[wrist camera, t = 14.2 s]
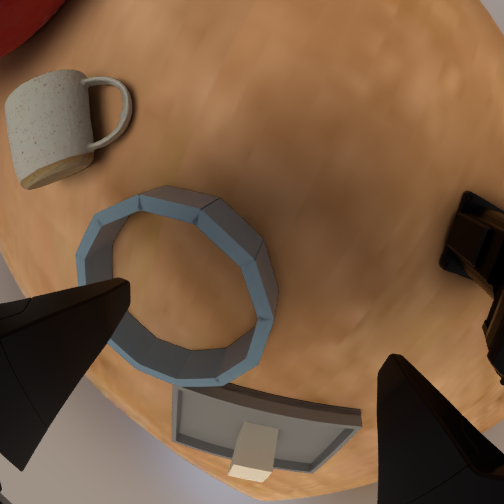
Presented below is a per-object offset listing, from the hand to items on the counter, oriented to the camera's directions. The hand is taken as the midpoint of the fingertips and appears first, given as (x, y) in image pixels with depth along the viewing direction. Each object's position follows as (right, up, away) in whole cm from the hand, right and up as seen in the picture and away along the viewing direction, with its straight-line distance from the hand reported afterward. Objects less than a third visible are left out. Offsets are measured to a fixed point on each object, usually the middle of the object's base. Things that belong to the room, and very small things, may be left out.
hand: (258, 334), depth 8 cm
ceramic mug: (-14, +14, +11) cm, 23 cm away
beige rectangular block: (0, -19, +19) cm, 27 cm away
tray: (+1, -18, +20) cm, 27 cm away
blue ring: (-6, 0, +14) cm, 16 cm away
